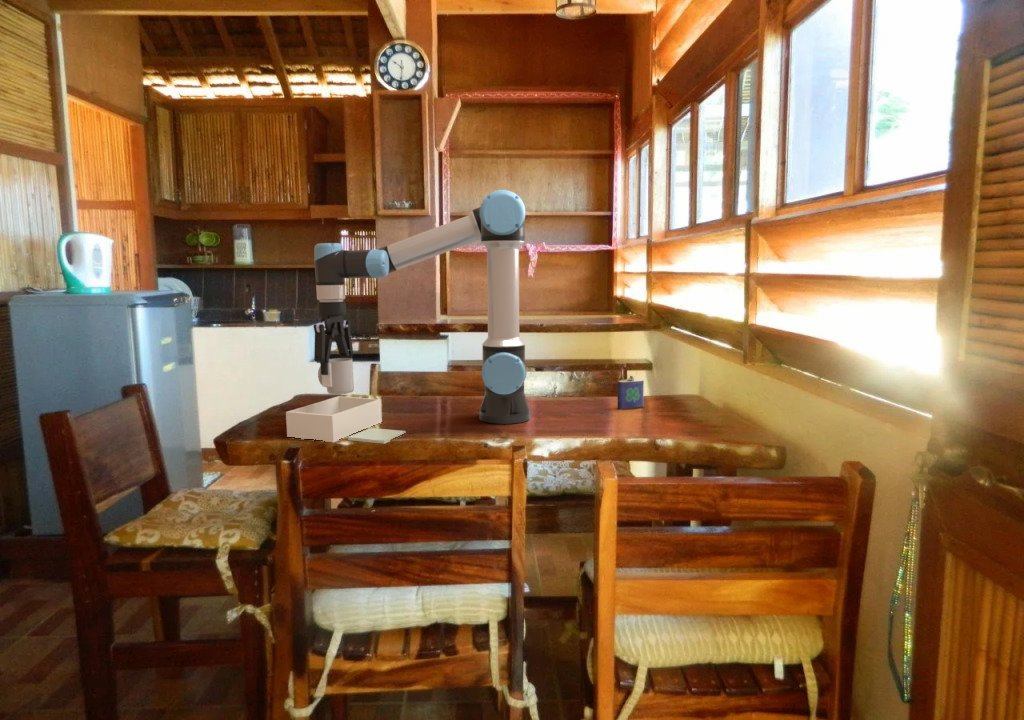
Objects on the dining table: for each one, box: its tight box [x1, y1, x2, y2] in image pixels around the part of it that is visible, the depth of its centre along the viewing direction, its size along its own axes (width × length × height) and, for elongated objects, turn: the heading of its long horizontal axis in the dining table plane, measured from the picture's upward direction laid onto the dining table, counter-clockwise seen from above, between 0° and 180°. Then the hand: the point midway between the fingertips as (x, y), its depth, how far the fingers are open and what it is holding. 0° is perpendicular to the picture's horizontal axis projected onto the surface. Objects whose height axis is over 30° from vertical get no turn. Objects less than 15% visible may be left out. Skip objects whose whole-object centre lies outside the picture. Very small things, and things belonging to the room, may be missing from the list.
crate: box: [285, 395, 383, 443], centre depth 190 cm, size 15×24×7 cm, turn 159°
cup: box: [317, 357, 355, 395], centre depth 188 cm, size 7×10×9 cm
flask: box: [617, 374, 645, 411], centre depth 216 cm, size 9×3×11 cm, turn 112°
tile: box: [347, 427, 407, 445], centre depth 182 cm, size 11×11×1 cm
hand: (336, 383), depth 188 cm, fingers closed on cup, 7 cm apart
